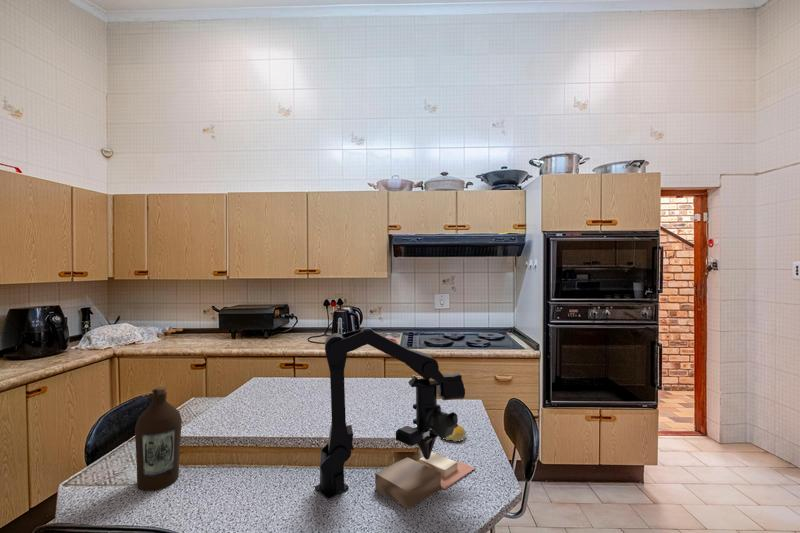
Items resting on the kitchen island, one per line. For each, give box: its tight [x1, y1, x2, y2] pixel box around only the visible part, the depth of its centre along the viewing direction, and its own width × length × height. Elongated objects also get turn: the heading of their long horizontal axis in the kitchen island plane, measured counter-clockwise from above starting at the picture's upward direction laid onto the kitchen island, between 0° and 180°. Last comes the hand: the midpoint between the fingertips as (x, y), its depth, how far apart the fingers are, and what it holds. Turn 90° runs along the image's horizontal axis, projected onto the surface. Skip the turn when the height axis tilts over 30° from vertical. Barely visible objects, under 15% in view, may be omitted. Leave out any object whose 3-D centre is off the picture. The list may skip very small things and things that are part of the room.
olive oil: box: [134, 386, 183, 492], centre depth 101 cm, size 11×11×25 cm
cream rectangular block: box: [419, 451, 458, 477], centre depth 106 cm, size 9×6×2 cm, turn 47°
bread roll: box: [444, 424, 467, 441], centre depth 127 cm, size 8×9×4 cm
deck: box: [374, 457, 442, 510], centre depth 97 cm, size 12×12×4 cm
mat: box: [441, 460, 476, 490], centre depth 106 cm, size 14×14×1 cm
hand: (426, 458), depth 102 cm, fingers closed
